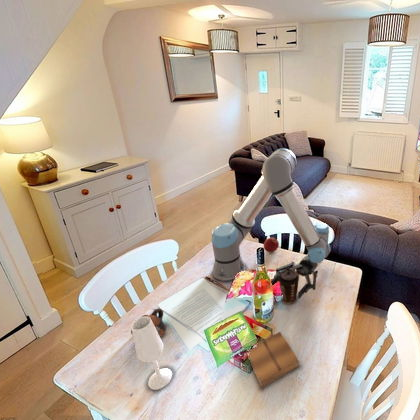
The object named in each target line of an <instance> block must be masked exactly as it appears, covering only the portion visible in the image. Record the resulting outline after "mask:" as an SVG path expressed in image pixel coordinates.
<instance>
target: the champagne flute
mask: <svg viewBox="0 0 420 420" xmlns="http://www.w3.org/2000/svg"><path fill="white" fill-rule="evenodd" d="M140 317H141V318H140ZM140 317H138V318H136V319H135V320H134V321H133V322H132V323H131V327H130V328H131V329H132V333H133V335H132V339H133V342H134V347H135V352H136V357H137V359H138V360H139V362H141V363H142V362H144V363H152V366H153V368H154V371H155V372H154V373H153V374H151V376H150V377H149V379H148V383H147V385H148V388H150V389H151V390H153V391H154V390H155V391H156V390H161V389H162V388H164V387H166V386H167V385H168V384H169V383H170V382H171V380H172V378H173V372H172V370H171V369H169V368H167V367H166V368H165V367H164V368H160V366H159V363H158V360H157V359H159V357H160V356H161V355H162V353H163V351H164V343H163V340H162V337H161V336H160V335H159V334H158V332H159V331H158V330H157V327H156V328H155V326H154V324H153V322H152V320H151V318H150V317H147V316H145V317H142V316H140Z"/></svg>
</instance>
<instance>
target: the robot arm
mask: <svg viewBox="0 0 420 420" xmlns="http://www.w3.org/2000/svg"><path fill="white" fill-rule="evenodd" d="M297 163H298V162H297V158H296V155H295V154H294V152H292V150H290V149H288V148H278V149H276V150H274V151H273V152H272V153H271V154H270V155H269V156H268V157H267V158H265V160H264V162H263V164H262V169H261V174H262V175H261V176H260V177H259V179H258V181H257V182H256V184H255V185H254V187H253V189H252V190H251V192H250V193H249V194H248V196H247V197H246V199H245V200H244V202H243V204H242V205H241V206H240V207H239V209H235V210H234V211H233V213H232V214H231V216H230V217H229V219H228V220H227V221H226V222H225V223H221V224H220V225H217V226H216V227H214V228H213V230H212V231H211V235H210V236H211V245H212V250H213V257H214V261H213V267H212V275H213V278H214V279H215V280H217V281H221V282H233V281H235V280H234V278H235V276H236V274H237V273H239V272H241V271H244V270H245V271H246V264H245V261H244V260H243V257H242V256H241V249H240V246H241V244H242V243H243V242H244V239H245V238H246V237H247V236H248V234H249V233H250V231H251V230H252V228H253V227H254V226H255V224H256V220H255V219H256V218H257V216H258V215H259V213H260V212H261V211H262V210H263V208H264V206H265V205H266V204H267V202H268V201H269V199H270V198H271V197H272V196H274V197H276V198H277V199H278V201H279V203H280V204H281V206H282V209H283V210H284V211H285V214H286V215H287V216H288V218H289V220H290V222H291V223H292V226H293V227H294V229H295V231H296V232H297V234H298V235H299V237H300V239H301V241H302V243H303V244H304V246H305V248H306V249H307V254H306V255H305V256H304V257H303V258H302V259H301V260H300V261H299V263H297V264H296V263H295V261H291V262H290V263H288V264H285V265H283V266H280V267H277V268H275V275H274V276H273V278H272V279H271V280H270V284H271V283H272V285H274V284H275V283H276V284H277V283H279V281H278V277H279V275H280V273H281V272H282V271H284V270H286V269H290V270H291V269H292V270H295V271H296V272H297V274H298V275H299V276H301V277H304V279H305V281H306V283H305V284H304V285H303V286H302V287H301V289H300V290H299V291H298V292H297V299H299V300H300V299H301V298H302V296H304V294H307V293H308V292H309V291H310V290H313V291H315V290H316V287H317V278H318V276H319V271H318V270H316V269H317V268H318V267H319V266H320V265H321V264H322V262H323V261H324V260H326V258H328V256H329V254H330V253H331V251H332V249H331V245H330V244H329V236H330V226H329V224H326V223H324V222H318V223H315V224H314V223H313V221H312V220H311V218H310V216H309V214H308V212H307V210H306V208H305V207H304V205H303V203H302V202H301V199H300V198H299V196H298V194H297V192H296V190H295V189H294V186H295V184H294V182H293V179H292V175H291V174H292V173H293V172H294V171H295V170H296V168H297ZM311 275H312V276H313V278H312V281H311V278H310V276H311ZM276 284H275V285H276ZM275 285H274V286H275Z"/></svg>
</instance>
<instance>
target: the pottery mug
mask: <svg viewBox="0 0 420 420" xmlns="http://www.w3.org/2000/svg"><path fill="white" fill-rule="evenodd" d="M145 316H147V317H150V318H151V320H152V322H153V324H154V326H155V328H156V329H157V328H159V331H157V332H158V334H159V336H160V338H162V337H163V336H164V334H165V332H166V328H167V327H166V324H165V323H164V321H163V317H164V310H163V309H162V308H156V309H154V310H153V311H152V312H151V313H150V314H143V315H141V316H140V317H139V318H141V317H145ZM130 334H131V335H132V336H133V333H132V328H131V330H130Z"/></svg>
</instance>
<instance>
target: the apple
mask: <svg viewBox="0 0 420 420" xmlns="http://www.w3.org/2000/svg"><path fill="white" fill-rule="evenodd" d="M279 246H280V243H279V240H278V239H277V238H275V237H268V238H266V239H265V241H264V242H263V249H264V250H265V251H266V252H267V253H274V252H276V251H277V250H278V249H279Z"/></svg>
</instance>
